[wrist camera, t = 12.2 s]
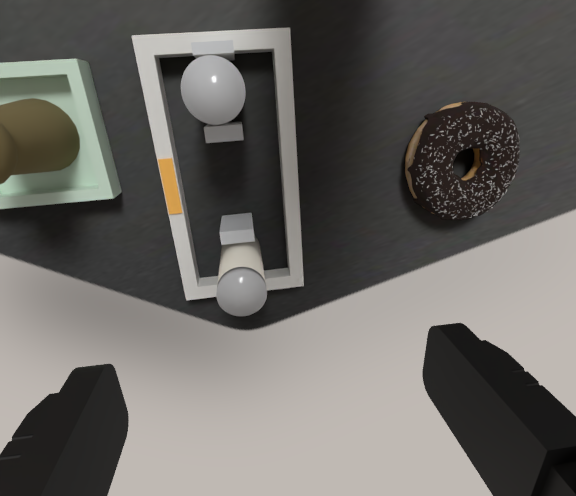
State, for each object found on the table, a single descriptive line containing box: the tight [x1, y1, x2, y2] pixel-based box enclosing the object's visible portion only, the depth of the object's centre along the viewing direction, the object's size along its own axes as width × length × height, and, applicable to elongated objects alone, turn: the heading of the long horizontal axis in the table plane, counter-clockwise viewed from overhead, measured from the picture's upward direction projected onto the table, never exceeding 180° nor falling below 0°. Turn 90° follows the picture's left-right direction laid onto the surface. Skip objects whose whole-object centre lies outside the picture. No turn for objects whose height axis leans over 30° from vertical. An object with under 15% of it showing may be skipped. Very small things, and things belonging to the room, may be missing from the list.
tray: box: [0, 59, 122, 209], centre depth 29 cm, size 11×11×2 cm
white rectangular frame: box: [132, 28, 304, 300], centre depth 32 cm, size 24×12×5 cm, turn 4°
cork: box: [0, 98, 80, 184], centre depth 25 cm, size 6×6×11 cm
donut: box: [405, 102, 520, 220], centre depth 35 cm, size 11×12×4 cm
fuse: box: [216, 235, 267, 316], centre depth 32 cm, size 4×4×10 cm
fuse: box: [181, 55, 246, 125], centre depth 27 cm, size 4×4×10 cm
